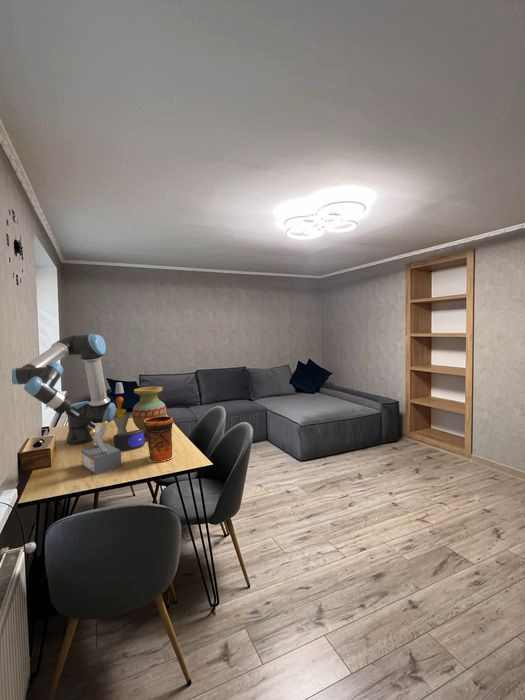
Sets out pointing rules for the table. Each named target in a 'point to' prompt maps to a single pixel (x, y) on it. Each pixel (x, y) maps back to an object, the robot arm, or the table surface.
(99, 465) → the console
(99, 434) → the lever
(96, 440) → the lever
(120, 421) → the lava lamp
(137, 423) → the vase
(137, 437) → the dark grey curved slab
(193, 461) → the table surface
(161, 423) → the vessel
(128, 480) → the table surface
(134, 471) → the table surface
